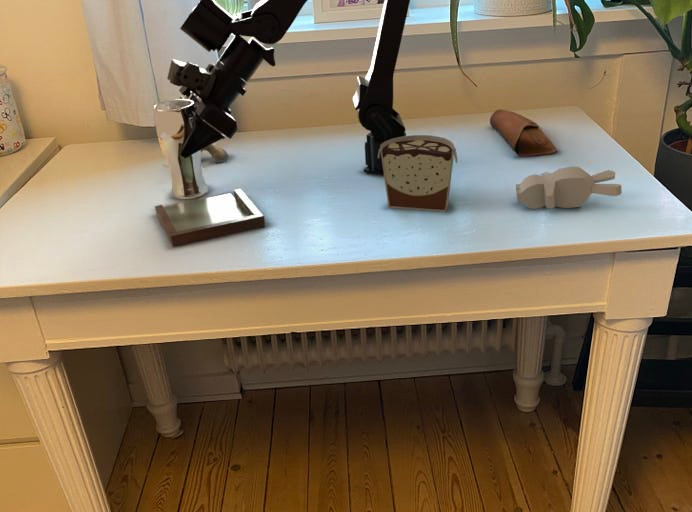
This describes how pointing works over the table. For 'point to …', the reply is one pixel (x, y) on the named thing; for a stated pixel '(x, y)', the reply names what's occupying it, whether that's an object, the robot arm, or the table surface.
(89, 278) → the table surface
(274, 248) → the table surface
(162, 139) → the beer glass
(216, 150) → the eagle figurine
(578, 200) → the bunny figurine
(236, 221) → the dock
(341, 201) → the table surface
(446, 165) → the food container
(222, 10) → the robot arm
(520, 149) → the sunglasses case
